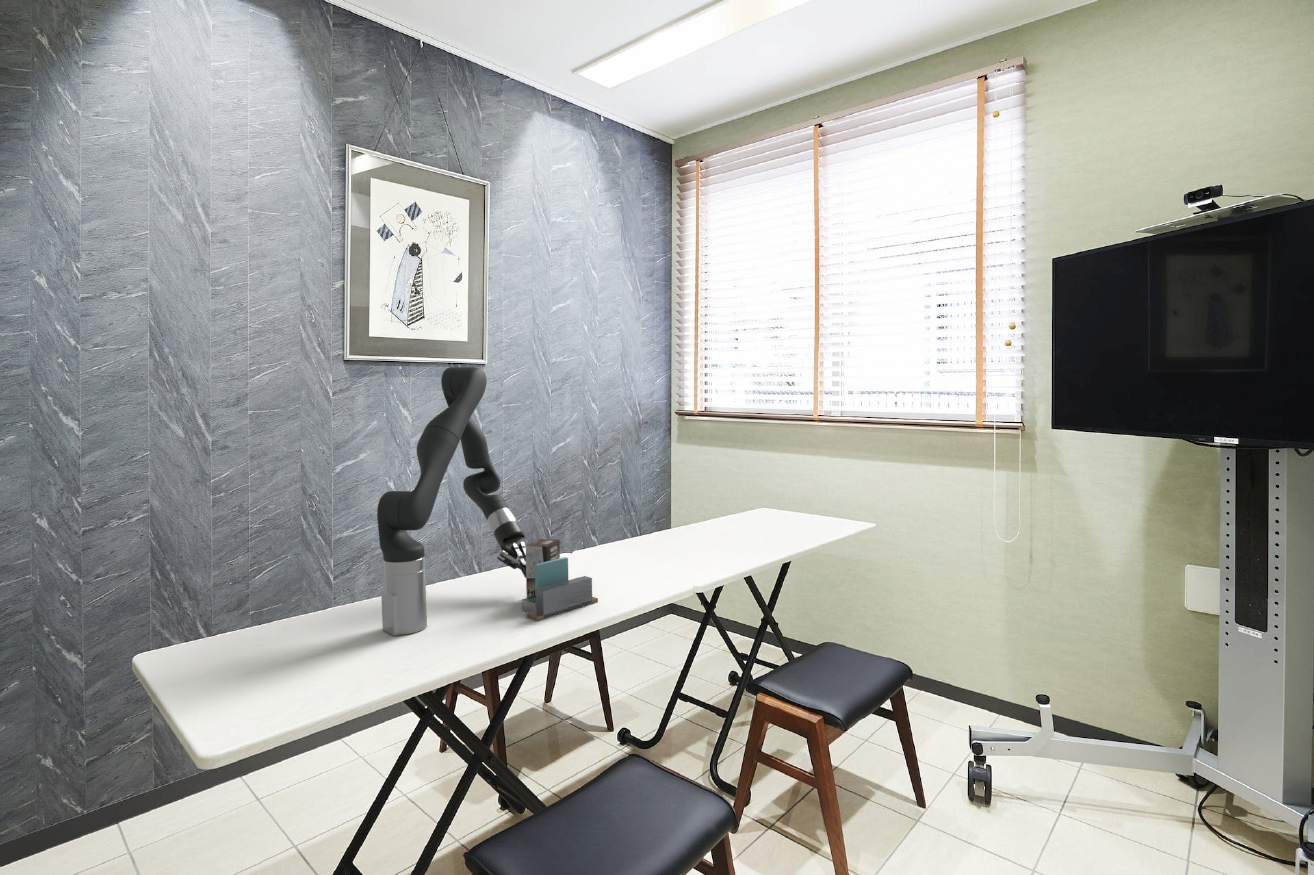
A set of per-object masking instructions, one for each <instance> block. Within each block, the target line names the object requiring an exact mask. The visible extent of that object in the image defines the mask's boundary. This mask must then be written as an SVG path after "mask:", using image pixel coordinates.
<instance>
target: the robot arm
mask: <svg viewBox="0 0 1314 875" xmlns="http://www.w3.org/2000/svg"><path fill="white" fill-rule="evenodd" d="M440 378H441V379H440V380H441V381H440V383H441V390H442V393H443V396H444V399H445V402H446V404H447V407H446V408H444V409H443V411H441V412H440V413H439V414H437V415H436V416H434V417H433V418H432V419H431V420H430V421H429V422H427V424H426V426H425V427H424V430H423V431H422V433H421V435H420V438H419V439H418V442H417V444H416V457H417V460H418V465H419V468H420V474H419V479H418V481H417V483H416V486H415V487H414V488H413V490H412V491H409V490H402V491H401V490H391V491H386V492H384V493H383V494H382V495H381V497H380V498H379V501H378V504H377V510H376V513H377V514H376V518H377V520H376V521H377V529H378V530H377V531H378V537H379V539H378V540H379V541H378V542H379V547H380V551H381V552H382V555H383V556H382V558H383V579H384V580H383V582H384V584H383V585H384V590H382V591H381V593H380V595H381V620H382V621H381V622H382V631H384V632H385V633H388V634H389V635H392V636H393V637H395V636H400V635H401V636H402V635H409V634H415V633H418V632H420V631H423V630H425V629H426V628H427V626H428V614H427V590H426V589H427V588H426V587H427V585H426V584H427V583H426V558H425V557H426V556H425V552H426V551H425V546H424V545H423V543H421V542H420V541H418V540H416V539H414V538H413V537H411V536H410V535H409V534H408V531H419V530H421V529H423V528H424V527H425V526H426V525H427V523H428V522H429V519H430V518H431V515H432V513H433V512H432V511H433V510H434V507H435V503H436V500H437V496H438V494H439V490H440V487H441V485H442V483H443V480H444V477H445V474H446V472H447V470H448V467H449V465H450V463H451V461H452V458H453V457H454V454H455V453H456V451H457V448H458V446H459V444H461V448H462V453H463V454H462V455H463V459H464V462H465V465H466V467H467V468H468V469H473V470H479V469H483V471H479V472H477V473H472V474H470V475H468V476H466V477H465V478H464V479H463V484H462V485H463V486H462V487H463V490H464V492H465V494H466V495H467V496H468V498H469V499H470V500H471V501H472V502H473V503H475V505H476V506H478V508H479V509H480V510H481V512H482V513H483V515H484V517H485V519H486V521H487V523H488V525H489V529H490V531H491V532H492V534H493V536H494V538H495V540H496V542H497V544H498V546H499V547H500V548H501V549H500V551H501V552H500V553H499V555H498V556H497V560H498V561H500V562H501V563H503V564H504V565H506V566H508V567H510V568H512V569H513V570H517V569H518V570H520V571H521V573H522V576H524V579H526V545H528V544H530V542H529V541H528V540H527V539H526V538H525V533H524V531H523V530H522V527H521V526H520V523H519V522H518V520H517V518H516V517H515V515H514V513H513V511H511V509H510V508H509V505H508V504H507V502H506V500H505V498H504V497H503V496H502V495H501V494H493V493H496V492H498V490H499V489H500V487H501V479H500V476H499V474H498V473H497V471H496V469H495V467H494V466H493V462H492V460H491V458H490V453H489V448H488V441H487V439H486V435H485V433H484V432H483V431H482V429H481V428H480V426H479V425H478V423H477V422H476V421H475V420H474V419H473V417H472V415H473V414H474V412H475V411H476V409H477V407H478V406H479V403H480V402H481V400H482V398H483V397H484V394H485V392H486V389H487V383H488V382H487V374H486V372H485V371H484V370H483V369H482V368H480V367H477V366H476V367H474V366H451V367H449V366H448V367H447V368H446V369H445V370H444V371H443V373H442V375H441V377H440Z"/></svg>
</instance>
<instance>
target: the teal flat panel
mask: <svg viewBox="0 0 1314 875" xmlns="http://www.w3.org/2000/svg"><path fill="white" fill-rule="evenodd" d="M568 580H569V558H568V557H567V556H566V557H565V556H564V557H560V558H559V559H555V560H551V561H547V562H543V563H538V564H535V594H536V589H538V588H542V587H546V586H549V585H553V584H557V583H560V582H564V581H568ZM533 598H536V595H533V596H529V597H528V599H529V600H530V599H533Z"/></svg>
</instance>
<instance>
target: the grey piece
mask: <svg viewBox="0 0 1314 875" xmlns="http://www.w3.org/2000/svg"><path fill="white" fill-rule="evenodd" d="M595 603H599V598H598V597H595V596H593V577H590V576H586V575H583V576H579V577H576V578H572V579H568V581H564V582H560V583H557V584H553V585H549V586H546V587H542V588H538V589H536V599H530V600H529V599H528V598H527V597H526V598H522V599H521V611H522V612H525V613H526V618H528V619H531V620H533V621H536V622H539V621H542V620H545V619H548V618H551V617H554V616H558V615H562V614H565V613H567V612H570V611H574V610H576V609H580V608H583V607H586V606H590V605H593V604H595Z"/></svg>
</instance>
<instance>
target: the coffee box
mask: <svg viewBox="0 0 1314 875" xmlns="http://www.w3.org/2000/svg"><path fill="white" fill-rule="evenodd" d="M559 558H561V540H560V539H559V538H557V539H555V538H545V539H544V538H539V539H537V540H534V541H532V542H529V544H528V545H526V578H525V579H526V580H525V582H526V584H525V585H526V586H525V587H526V598H528V597H529V596H533V595H536V594H535V564H538V563H543V562H547V561H551V560H555V559H559ZM533 599H536V598H533Z"/></svg>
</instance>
